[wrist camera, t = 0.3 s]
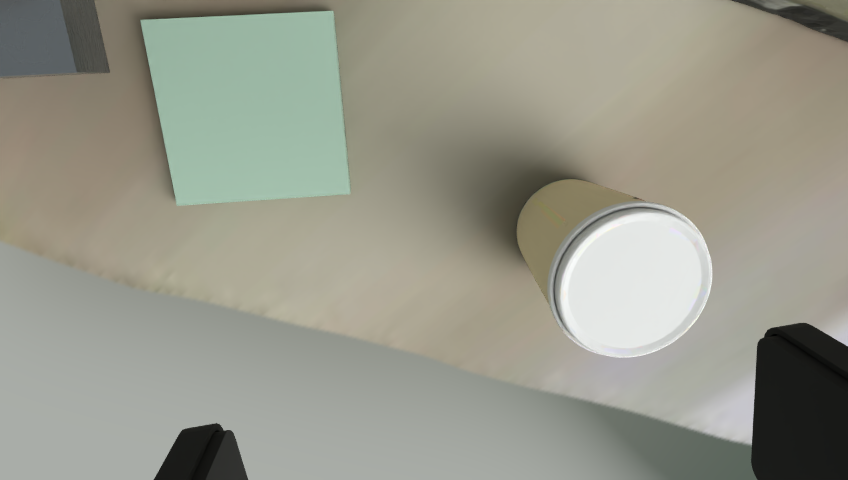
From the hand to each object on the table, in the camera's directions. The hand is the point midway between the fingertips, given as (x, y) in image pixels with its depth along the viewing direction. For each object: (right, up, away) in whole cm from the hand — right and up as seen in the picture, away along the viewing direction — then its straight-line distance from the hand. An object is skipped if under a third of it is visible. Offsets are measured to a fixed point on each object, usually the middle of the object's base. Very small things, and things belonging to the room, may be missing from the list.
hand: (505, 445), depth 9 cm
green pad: (-13, +12, +27) cm, 33 cm away
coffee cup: (+9, +5, +32) cm, 33 cm away
